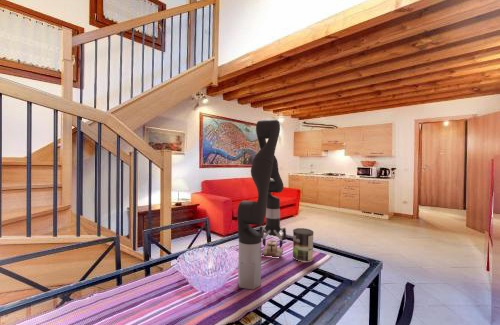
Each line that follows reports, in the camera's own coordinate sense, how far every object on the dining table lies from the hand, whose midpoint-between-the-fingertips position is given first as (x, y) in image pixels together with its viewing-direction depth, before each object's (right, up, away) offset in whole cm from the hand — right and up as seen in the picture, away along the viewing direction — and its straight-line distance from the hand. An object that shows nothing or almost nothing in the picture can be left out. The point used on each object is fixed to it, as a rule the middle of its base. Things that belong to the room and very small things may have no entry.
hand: (272, 246), depth 126 cm
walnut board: (0, -4, 0) cm, 4 cm away
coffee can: (+15, -4, -6) cm, 17 cm away
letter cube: (0, -3, 0) cm, 3 cm away
